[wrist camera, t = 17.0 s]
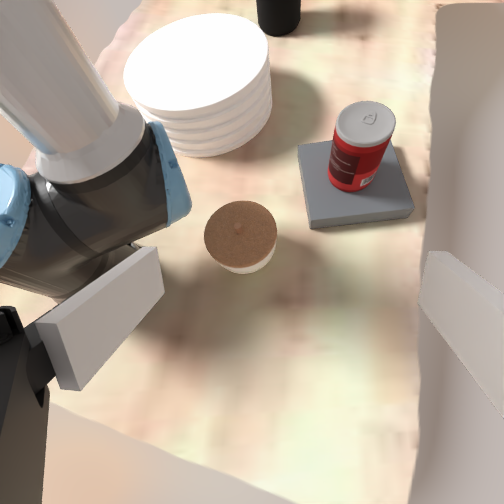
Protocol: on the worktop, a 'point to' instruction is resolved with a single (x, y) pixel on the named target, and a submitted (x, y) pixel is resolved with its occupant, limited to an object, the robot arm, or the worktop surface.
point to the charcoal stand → (351, 203)
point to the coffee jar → (278, 16)
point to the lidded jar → (241, 236)
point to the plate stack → (203, 82)
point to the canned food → (359, 144)
